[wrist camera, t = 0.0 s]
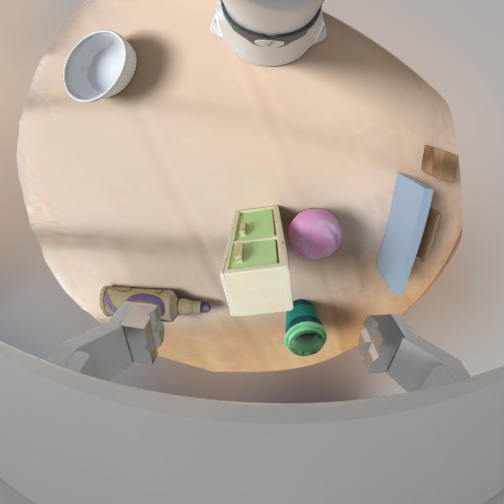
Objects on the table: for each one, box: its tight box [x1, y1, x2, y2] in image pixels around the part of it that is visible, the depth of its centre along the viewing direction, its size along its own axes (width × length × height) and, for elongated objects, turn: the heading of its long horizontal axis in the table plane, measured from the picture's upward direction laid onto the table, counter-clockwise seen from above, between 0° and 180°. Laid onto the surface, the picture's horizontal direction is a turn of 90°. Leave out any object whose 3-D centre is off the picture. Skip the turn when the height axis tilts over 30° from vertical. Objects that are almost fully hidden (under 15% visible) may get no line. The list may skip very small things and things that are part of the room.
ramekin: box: [63, 30, 137, 102], centre depth 33 cm, size 13×13×7 cm
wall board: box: [376, 173, 441, 294], centre depth 44 cm, size 20×8×10 cm, turn 178°
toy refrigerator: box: [221, 205, 294, 317], centre depth 41 cm, size 8×7×21 cm
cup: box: [285, 299, 327, 356], centre depth 54 cm, size 8×8×12 cm
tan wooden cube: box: [421, 145, 458, 182], centre depth 39 cm, size 5×4×7 cm
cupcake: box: [287, 208, 342, 261], centre depth 45 cm, size 9×9×10 cm
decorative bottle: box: [100, 286, 211, 322], centre depth 57 cm, size 26×8×7 cm, turn 90°
